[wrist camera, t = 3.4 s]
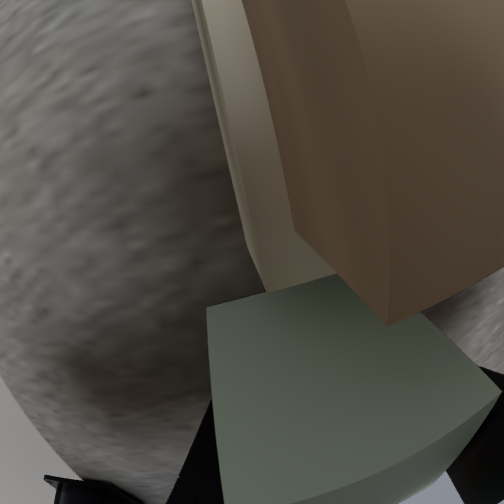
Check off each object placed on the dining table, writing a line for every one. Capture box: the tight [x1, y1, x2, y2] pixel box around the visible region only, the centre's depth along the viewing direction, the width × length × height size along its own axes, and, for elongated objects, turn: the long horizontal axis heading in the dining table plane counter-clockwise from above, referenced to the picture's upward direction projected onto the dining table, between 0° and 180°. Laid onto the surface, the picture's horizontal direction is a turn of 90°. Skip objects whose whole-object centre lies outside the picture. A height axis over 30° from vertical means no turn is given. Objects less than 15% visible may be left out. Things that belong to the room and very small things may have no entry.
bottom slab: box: [191, 0, 336, 293], centre depth 5 cm, size 10×10×3 cm
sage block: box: [206, 273, 502, 504], centre depth 7 cm, size 5×5×6 cm
